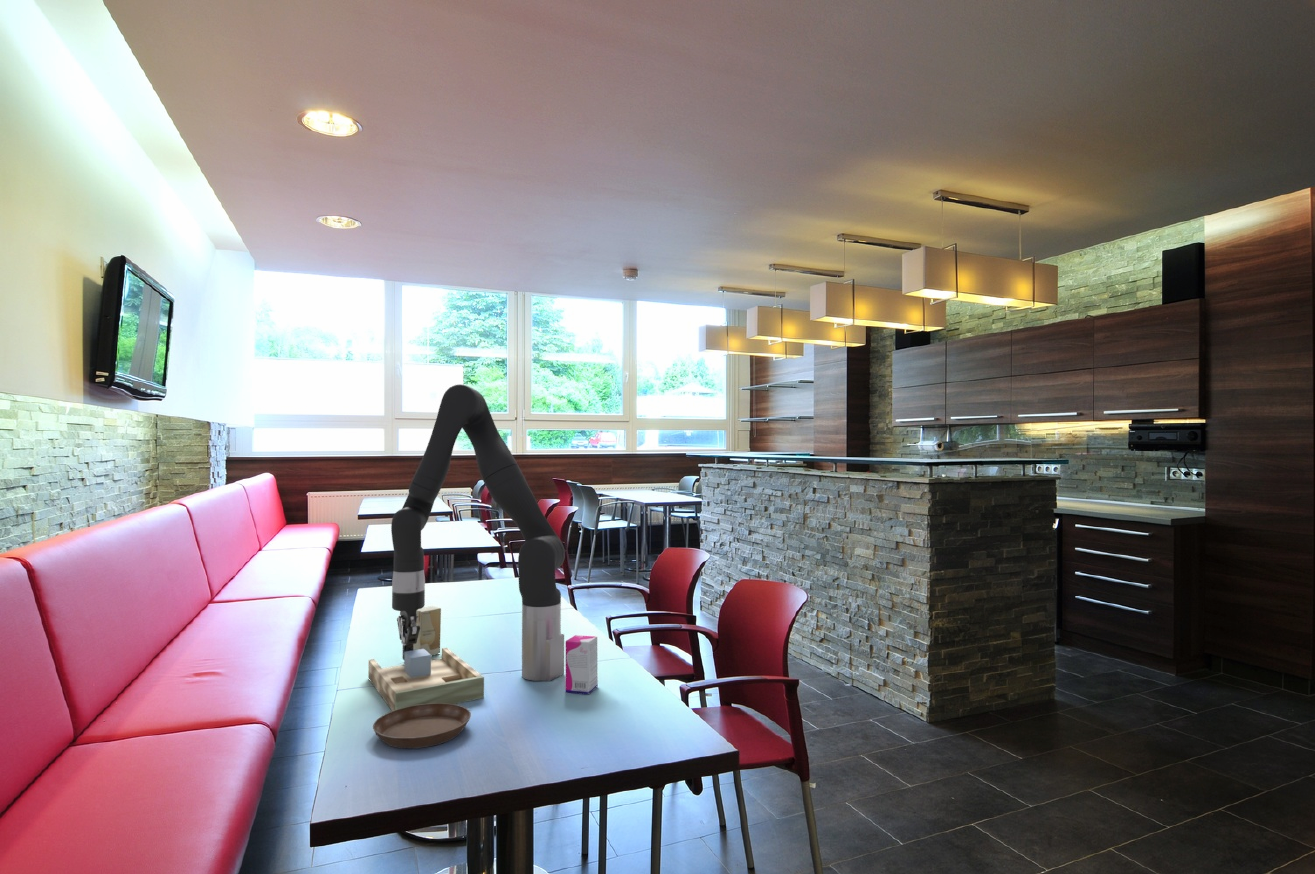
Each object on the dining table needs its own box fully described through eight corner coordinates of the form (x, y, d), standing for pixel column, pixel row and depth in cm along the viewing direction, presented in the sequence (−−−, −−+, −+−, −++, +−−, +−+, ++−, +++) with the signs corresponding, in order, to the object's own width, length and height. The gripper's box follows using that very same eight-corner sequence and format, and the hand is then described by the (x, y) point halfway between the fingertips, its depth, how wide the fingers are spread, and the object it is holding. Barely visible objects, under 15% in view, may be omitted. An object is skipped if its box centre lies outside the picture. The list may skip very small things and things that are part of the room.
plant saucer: (374, 724, 138) (374, 708, 138) (466, 712, 144) (466, 697, 144) (371, 761, 121) (371, 743, 121) (475, 745, 128) (475, 729, 128)
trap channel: (483, 697, 151) (483, 677, 151) (395, 715, 141) (396, 693, 141) (446, 665, 174) (446, 647, 174) (368, 679, 164) (368, 659, 164)
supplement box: (598, 686, 159) (598, 635, 159) (588, 695, 153) (588, 642, 153) (574, 684, 160) (574, 634, 161) (564, 692, 155) (564, 640, 155)
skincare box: (420, 659, 179) (420, 611, 179) (410, 656, 182) (410, 609, 182) (441, 653, 184) (441, 607, 185) (431, 650, 187) (432, 605, 187)
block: (430, 674, 161) (430, 654, 161) (410, 677, 159) (410, 658, 159) (423, 667, 166) (423, 648, 166) (404, 671, 164) (404, 651, 164)
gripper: (431, 591, 166) (430, 664, 166) (417, 582, 177) (416, 651, 177) (399, 595, 162) (398, 669, 162) (386, 585, 173) (385, 655, 173)
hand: (407, 659), depth 170 cm, fingers closed
